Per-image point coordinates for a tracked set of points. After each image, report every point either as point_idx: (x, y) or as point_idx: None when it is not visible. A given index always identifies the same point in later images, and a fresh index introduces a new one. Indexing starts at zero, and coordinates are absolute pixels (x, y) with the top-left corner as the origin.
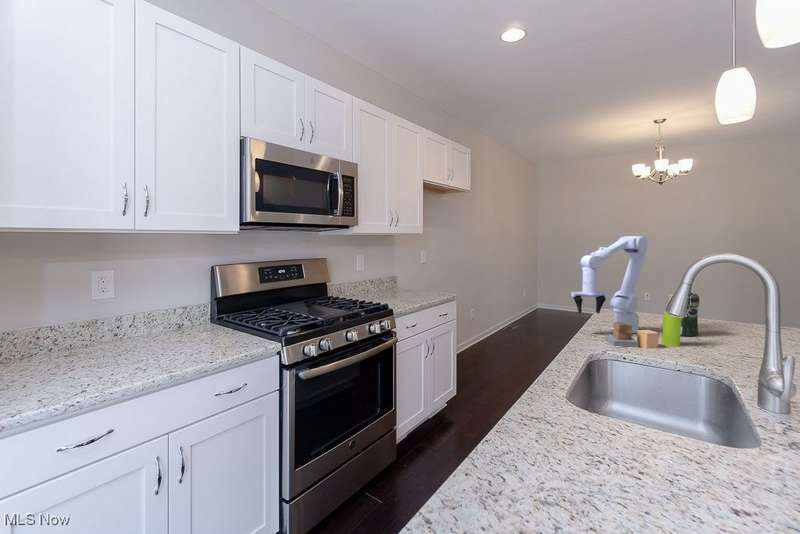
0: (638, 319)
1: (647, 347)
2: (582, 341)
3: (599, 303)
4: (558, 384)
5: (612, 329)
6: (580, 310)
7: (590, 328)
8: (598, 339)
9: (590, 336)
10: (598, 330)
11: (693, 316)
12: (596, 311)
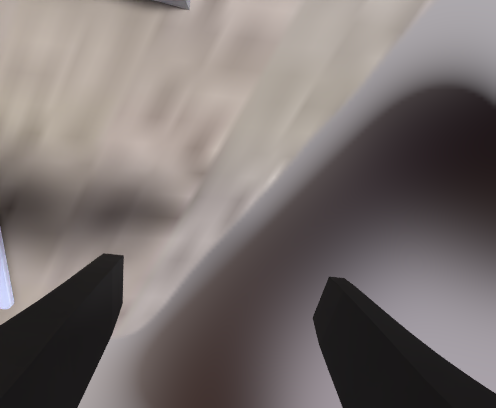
0: None
1: None
2: (364, 20)
3: (10, 393)
4: None
5: (7, 276)
6: (362, 296)
7: (135, 312)
8: (216, 61)
9: (229, 147)
10: None
11: None
12: (116, 308)
